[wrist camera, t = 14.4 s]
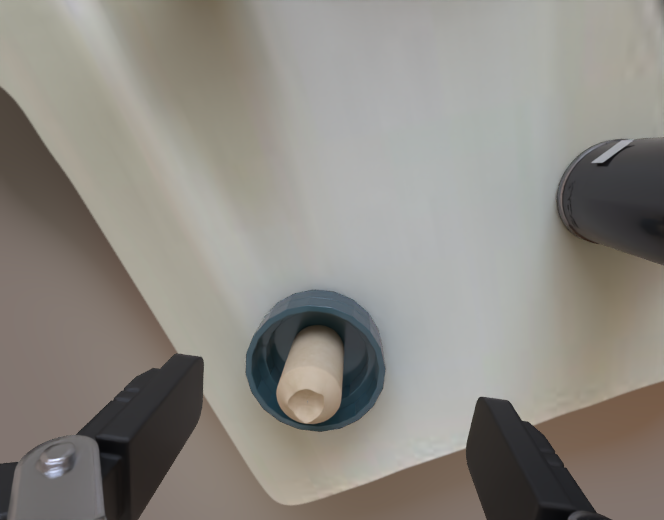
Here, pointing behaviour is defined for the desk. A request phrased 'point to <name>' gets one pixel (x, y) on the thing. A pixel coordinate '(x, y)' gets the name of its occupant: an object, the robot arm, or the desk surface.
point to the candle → (312, 376)
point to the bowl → (359, 354)
